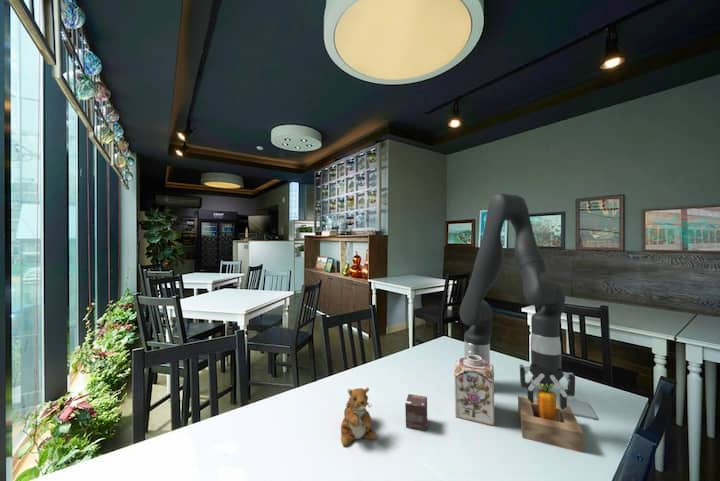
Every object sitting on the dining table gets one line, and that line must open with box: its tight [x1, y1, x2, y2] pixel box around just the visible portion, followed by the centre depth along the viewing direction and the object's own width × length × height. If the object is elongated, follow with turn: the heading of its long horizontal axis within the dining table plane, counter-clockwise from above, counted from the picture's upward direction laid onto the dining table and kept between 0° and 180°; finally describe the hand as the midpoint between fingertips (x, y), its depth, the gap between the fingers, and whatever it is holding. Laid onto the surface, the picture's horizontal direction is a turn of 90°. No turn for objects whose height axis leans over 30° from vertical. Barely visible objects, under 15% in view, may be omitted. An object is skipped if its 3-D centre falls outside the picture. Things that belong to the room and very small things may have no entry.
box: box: [404, 393, 428, 432], centre depth 87 cm, size 6×6×7 cm
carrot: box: [536, 382, 557, 421], centre depth 84 cm, size 5×5×15 cm
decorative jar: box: [453, 355, 496, 426], centre depth 93 cm, size 12×12×18 cm
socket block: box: [517, 395, 584, 453], centre depth 84 cm, size 14×14×5 cm
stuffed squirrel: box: [340, 387, 377, 447], centre depth 85 cm, size 10×14×13 cm
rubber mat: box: [556, 395, 598, 421], centre depth 95 cm, size 10×10×1 cm
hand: (546, 404), depth 84 cm, fingers open, 7 cm apart
